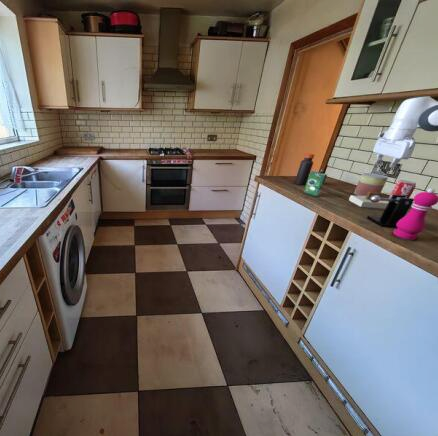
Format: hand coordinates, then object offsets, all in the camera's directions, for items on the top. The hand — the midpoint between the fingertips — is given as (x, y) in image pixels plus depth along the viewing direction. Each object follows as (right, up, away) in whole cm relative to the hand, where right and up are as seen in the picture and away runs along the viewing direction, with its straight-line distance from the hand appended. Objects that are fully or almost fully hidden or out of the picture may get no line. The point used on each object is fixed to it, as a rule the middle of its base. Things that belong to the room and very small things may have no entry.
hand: (384, 165), depth 111 cm
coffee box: (-19, -12, +24) cm, 33 cm away
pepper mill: (-13, -33, -20) cm, 41 cm away
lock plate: (+3, -19, +11) cm, 22 cm away
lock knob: (+3, -16, +10) cm, 19 cm away
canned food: (+16, -12, +26) cm, 33 cm away
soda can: (+19, -19, +12) cm, 29 cm away
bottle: (-12, -3, +44) cm, 45 cm away
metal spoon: (-13, -20, -13) cm, 27 cm away
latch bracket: (-8, -28, -10) cm, 31 cm away
